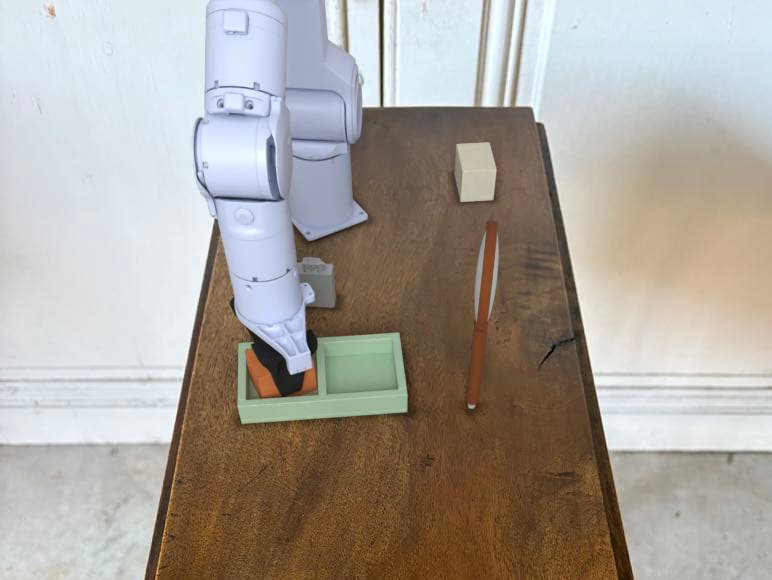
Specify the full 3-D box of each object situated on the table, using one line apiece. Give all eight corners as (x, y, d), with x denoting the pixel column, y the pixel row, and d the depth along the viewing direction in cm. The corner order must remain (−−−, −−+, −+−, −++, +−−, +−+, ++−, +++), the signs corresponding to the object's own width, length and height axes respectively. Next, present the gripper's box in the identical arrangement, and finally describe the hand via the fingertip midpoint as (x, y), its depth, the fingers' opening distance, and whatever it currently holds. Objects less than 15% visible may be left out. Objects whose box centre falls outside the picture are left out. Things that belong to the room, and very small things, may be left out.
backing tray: (242, 360, 81) (238, 342, 79) (399, 350, 82) (399, 332, 80) (241, 424, 76) (237, 406, 74) (407, 412, 77) (407, 394, 75)
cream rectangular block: (454, 174, 98) (456, 143, 94) (486, 172, 98) (489, 141, 95) (460, 202, 95) (462, 171, 91) (493, 200, 95) (496, 169, 92)
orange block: (302, 363, 80) (298, 333, 77) (317, 390, 78) (313, 360, 75) (250, 380, 79) (244, 350, 75) (264, 407, 77) (258, 378, 73)
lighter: (336, 296, 86) (330, 233, 79) (334, 307, 85) (328, 244, 78) (271, 293, 86) (260, 230, 79) (268, 304, 85) (257, 241, 78)
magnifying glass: (476, 442, 75) (499, 269, 58) (458, 441, 75) (476, 267, 58) (483, 376, 80) (506, 197, 63) (466, 374, 80) (484, 196, 63)
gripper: (340, 299, 63) (349, 413, 75) (276, 197, 70) (294, 316, 82) (256, 326, 62) (279, 438, 73) (199, 218, 69) (228, 336, 80)
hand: (282, 375), depth 77 cm, fingers closed on orange block, 4 cm apart
